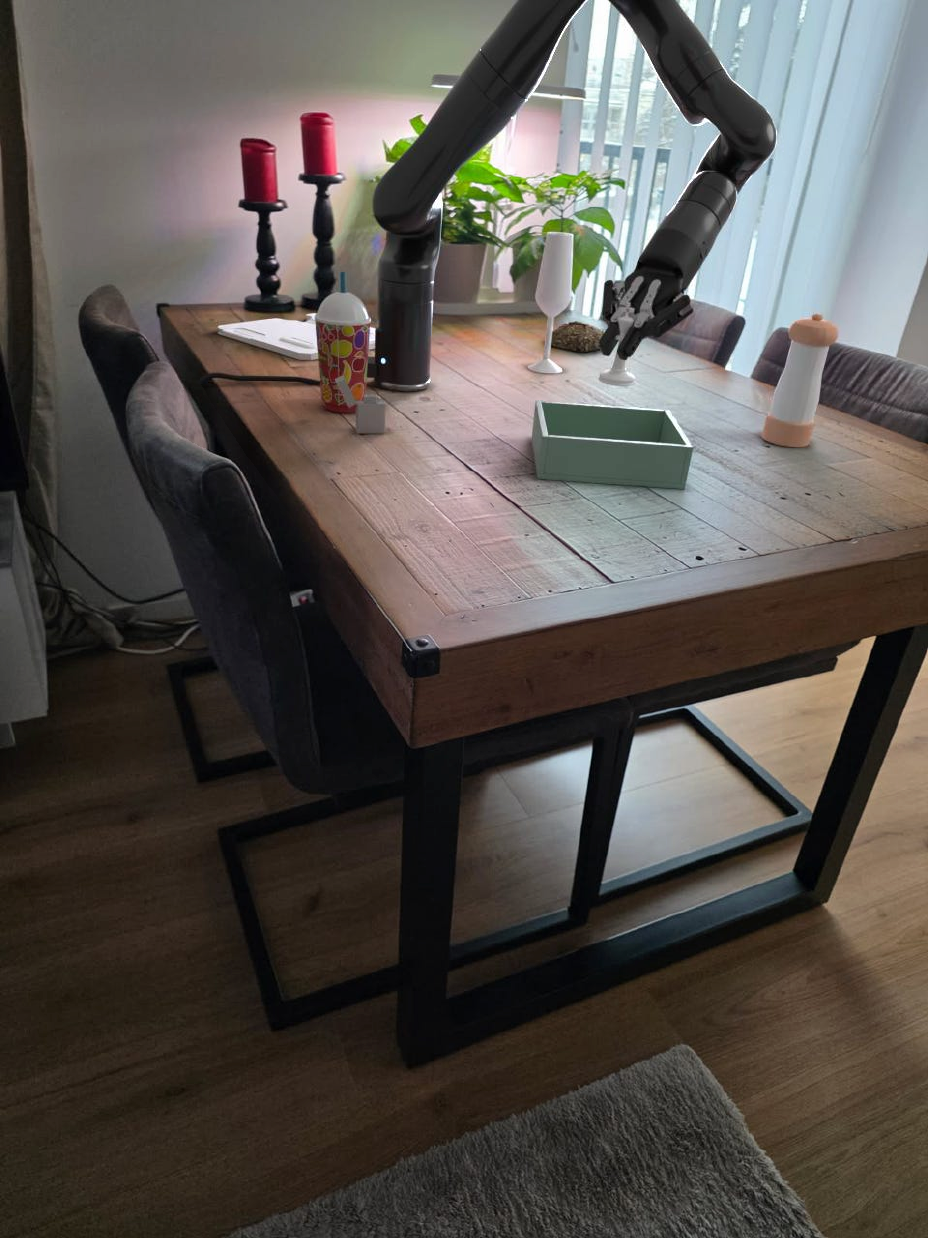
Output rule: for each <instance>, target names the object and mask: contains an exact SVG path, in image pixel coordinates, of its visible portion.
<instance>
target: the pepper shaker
mask: <svg viewBox="0 0 928 1238" xmlns="http://www.w3.org/2000/svg"><path fill="white" fill-rule="evenodd" d="M788 338H789V339H790V340H791V341H790V345H789V350H788V353H787V357H786V360H785V365H784V368H783V371H782V373H781V375H780V378H779V380H778V383H777V385H776V388H775V389H774V393H773V397H772V402H771V406H770V411H769V412H768V413H767V414H766V415H765V421H764V424H763V428H762V432H761V438H762V439H763V440H764V441H766V442H768V443H770V444H773V445H777V446H781V447H787V448H805V447H807V446H809V445H810V443H811V438H812V435H813V431H814V427H815V420H814V418H815V415H816V411H817V407H818V404H819V401H820V395H821V386H822V377H823V372H824V369H825V364H826V361H827V357H828V353H829V349H830V346H832V345H834V344H835V342H836V341H837V340H838V338H839V331H838V328H837V326H836V325H835V324H834V323H833V322H831V321H829V320H826V319H824V316H823V314H821V313H813V314H812V315H811V317H802V318H800V319H796V320H795V321H794V322H792V323H791V325H790V326H789V328H788Z"/></svg>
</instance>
